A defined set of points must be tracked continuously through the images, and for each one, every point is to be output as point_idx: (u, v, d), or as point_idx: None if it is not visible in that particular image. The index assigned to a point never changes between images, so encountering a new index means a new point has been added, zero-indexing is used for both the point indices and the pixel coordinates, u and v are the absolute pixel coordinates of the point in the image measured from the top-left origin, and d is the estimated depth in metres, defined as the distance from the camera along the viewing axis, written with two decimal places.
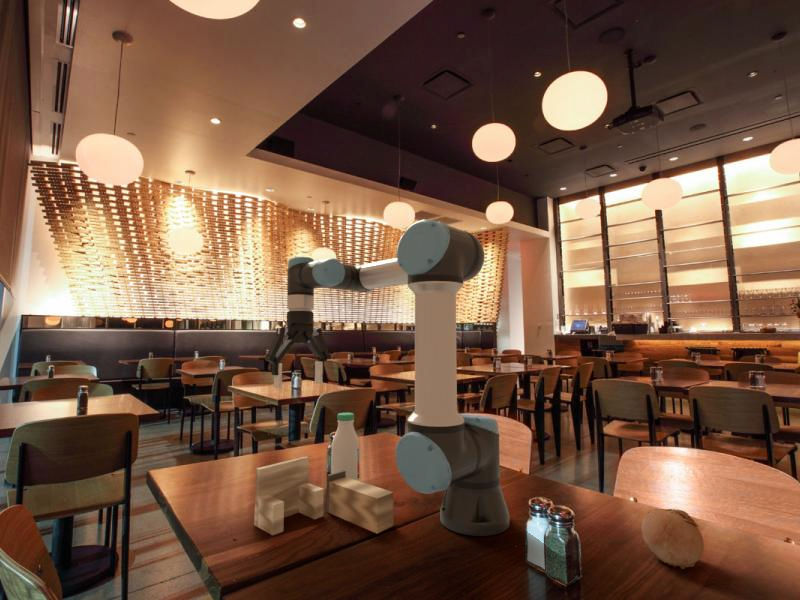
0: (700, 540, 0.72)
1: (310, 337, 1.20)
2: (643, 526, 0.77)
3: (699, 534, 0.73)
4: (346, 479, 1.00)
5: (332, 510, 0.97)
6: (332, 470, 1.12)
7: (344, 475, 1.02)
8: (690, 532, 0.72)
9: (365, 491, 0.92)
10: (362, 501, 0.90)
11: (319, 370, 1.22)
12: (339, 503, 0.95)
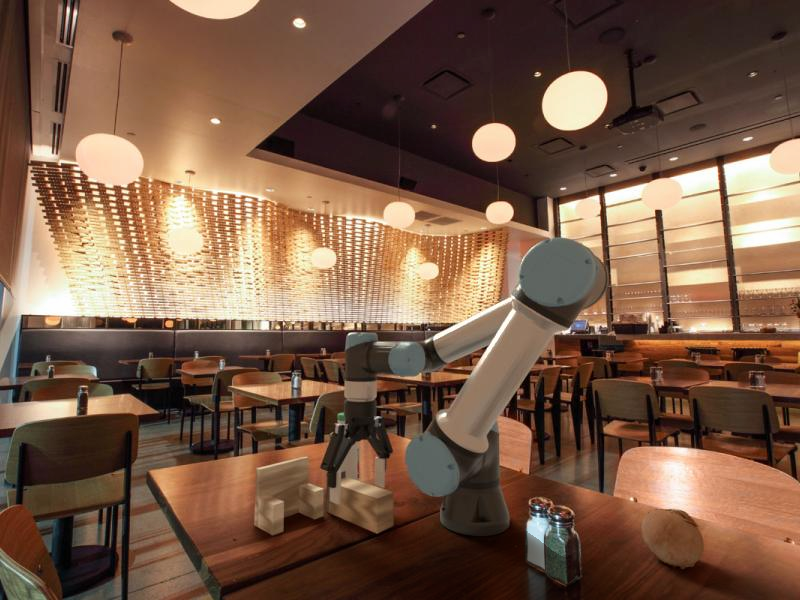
0: (700, 540, 0.72)
1: (372, 432, 0.97)
2: (643, 526, 0.77)
3: (699, 534, 0.73)
4: (346, 479, 1.00)
5: (332, 510, 0.97)
6: None
7: (344, 475, 1.02)
8: (690, 532, 0.72)
9: (364, 491, 0.92)
10: (362, 501, 0.90)
11: (381, 470, 0.99)
12: None
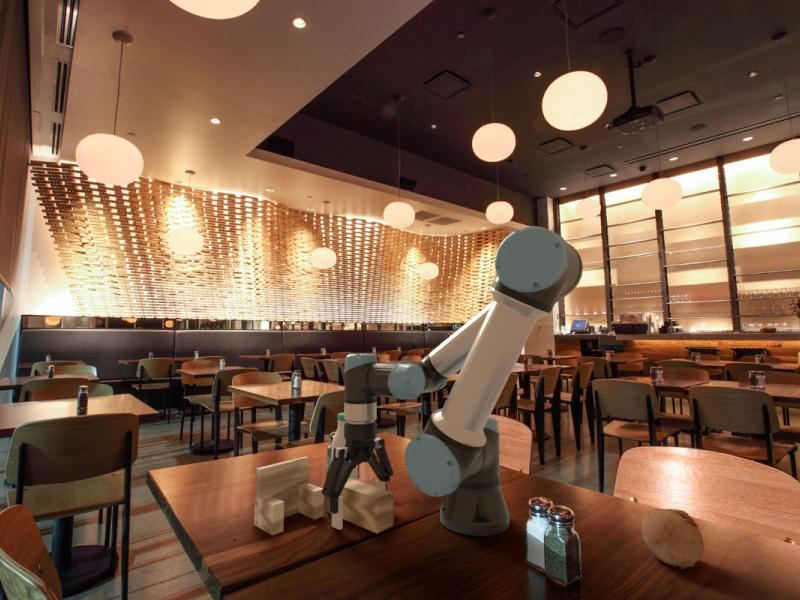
0: (700, 540, 0.72)
1: (372, 454, 0.96)
2: (643, 526, 0.77)
3: (699, 534, 0.73)
4: None
5: None
6: None
7: None
8: (690, 532, 0.72)
9: (365, 491, 0.92)
10: (362, 501, 0.90)
11: None
12: None
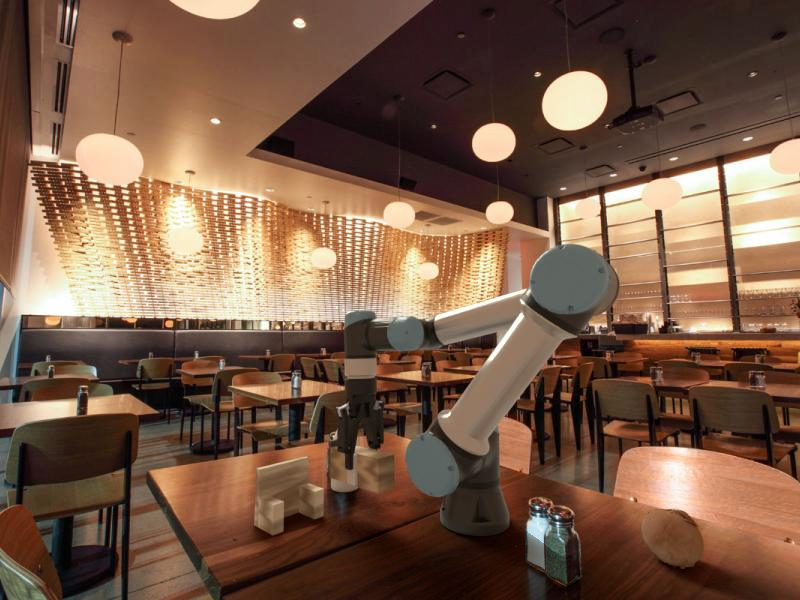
0: (700, 540, 0.72)
1: (371, 411, 0.96)
2: (643, 526, 0.77)
3: (699, 534, 0.73)
4: None
5: (333, 475, 0.97)
6: None
7: None
8: (690, 532, 0.72)
9: (366, 453, 0.92)
10: (363, 462, 0.91)
11: None
12: (340, 467, 0.96)
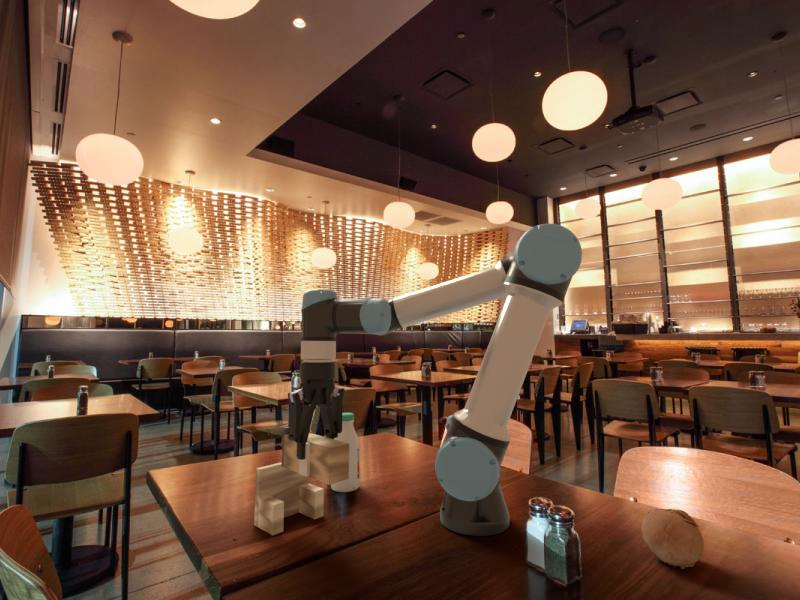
0: (700, 540, 0.72)
1: (328, 398, 0.90)
2: (643, 526, 0.77)
3: (699, 534, 0.73)
4: None
5: (287, 464, 0.91)
6: None
7: None
8: (690, 532, 0.72)
9: (319, 442, 0.86)
10: (315, 451, 0.85)
11: None
12: (293, 456, 0.90)
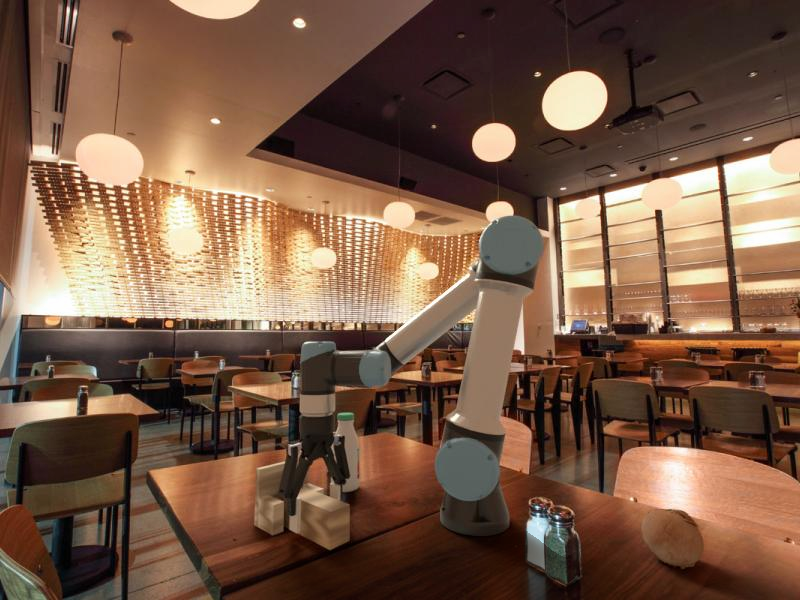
0: (700, 540, 0.72)
1: (329, 450, 0.89)
2: (643, 526, 0.77)
3: (699, 534, 0.73)
4: (303, 489, 0.93)
5: (286, 523, 0.90)
6: None
7: None
8: (690, 532, 0.72)
9: (319, 503, 0.85)
10: (315, 514, 0.83)
11: (336, 497, 0.90)
12: None
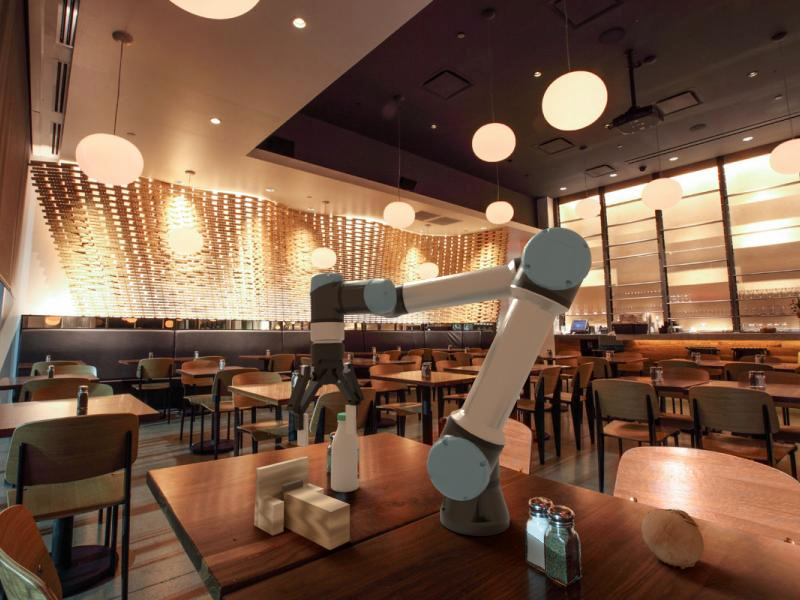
0: (700, 540, 0.72)
1: (341, 376, 0.93)
2: (643, 526, 0.77)
3: (699, 534, 0.73)
4: (303, 489, 0.93)
5: (286, 523, 0.90)
6: (332, 470, 1.12)
7: (301, 485, 0.95)
8: (690, 532, 0.72)
9: (319, 503, 0.85)
10: (315, 514, 0.83)
11: (352, 417, 0.96)
12: (293, 516, 0.88)
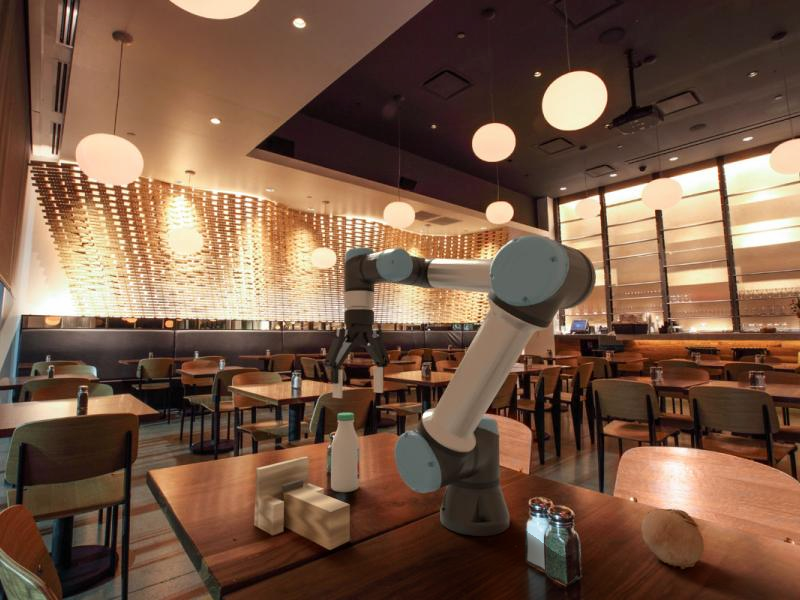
0: (700, 540, 0.72)
1: (370, 339, 1.05)
2: (643, 526, 0.77)
3: (699, 534, 0.73)
4: (303, 489, 0.93)
5: (286, 523, 0.90)
6: (332, 470, 1.12)
7: (301, 485, 0.95)
8: (690, 532, 0.72)
9: (319, 503, 0.85)
10: (315, 514, 0.83)
11: (379, 377, 1.07)
12: (293, 516, 0.88)
